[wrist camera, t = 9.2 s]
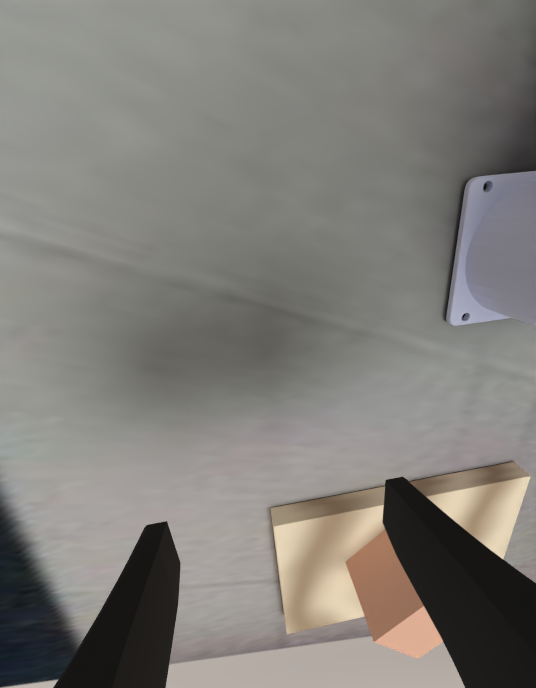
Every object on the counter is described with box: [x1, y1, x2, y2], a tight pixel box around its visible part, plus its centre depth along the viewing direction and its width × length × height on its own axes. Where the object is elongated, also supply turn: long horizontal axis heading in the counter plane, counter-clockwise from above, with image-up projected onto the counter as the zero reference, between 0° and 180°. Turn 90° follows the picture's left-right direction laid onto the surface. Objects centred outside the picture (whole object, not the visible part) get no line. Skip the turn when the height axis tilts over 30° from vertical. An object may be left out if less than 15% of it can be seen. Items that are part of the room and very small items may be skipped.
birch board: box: [270, 462, 530, 634], centre depth 26 cm, size 20×14×2 cm
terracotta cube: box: [345, 530, 443, 659], centre depth 22 cm, size 5×5×5 cm
